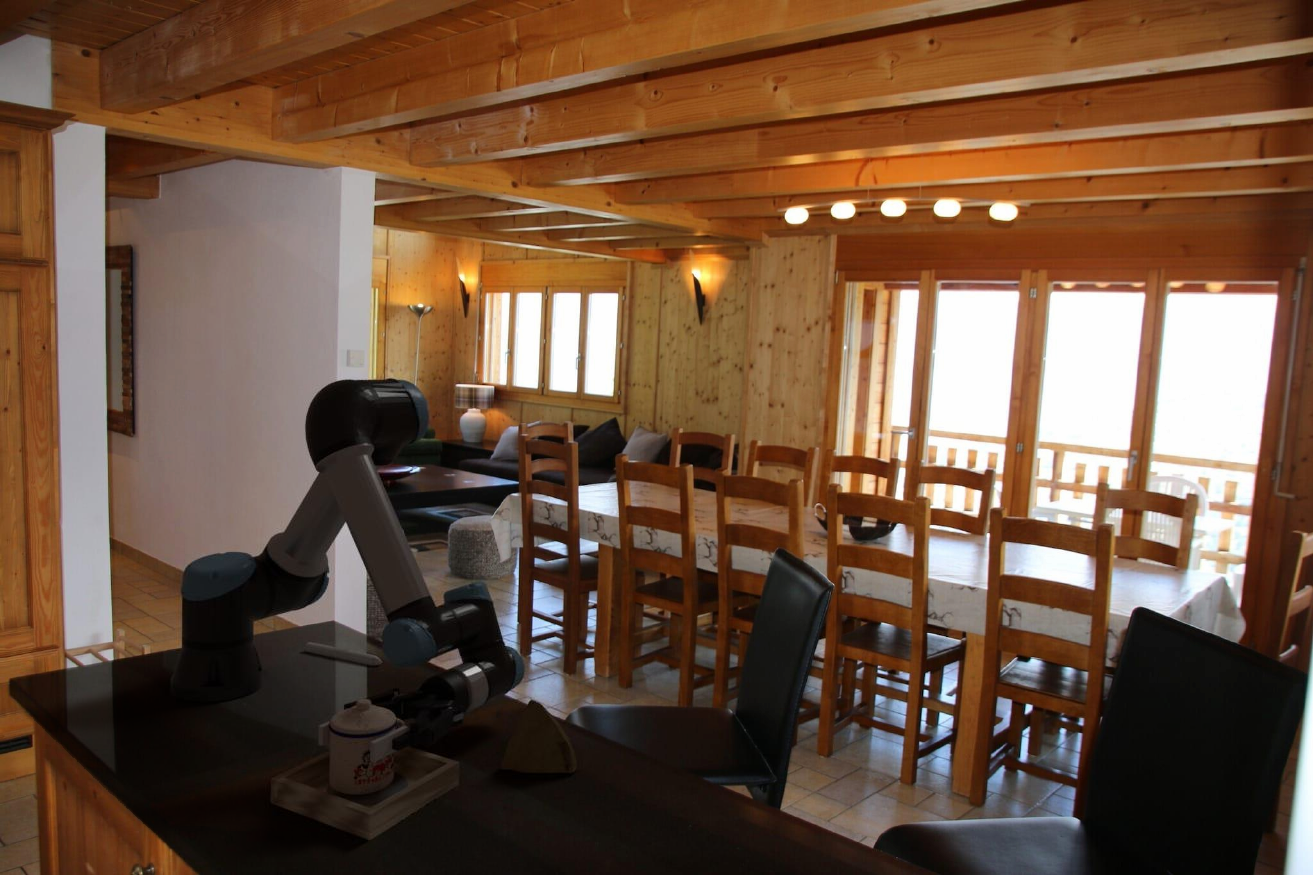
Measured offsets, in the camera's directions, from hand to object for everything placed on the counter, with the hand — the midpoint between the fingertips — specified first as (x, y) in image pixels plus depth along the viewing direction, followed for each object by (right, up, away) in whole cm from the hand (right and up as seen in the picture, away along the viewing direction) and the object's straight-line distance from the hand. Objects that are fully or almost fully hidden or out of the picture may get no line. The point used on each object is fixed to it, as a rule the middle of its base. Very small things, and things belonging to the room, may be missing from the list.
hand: (346, 743), depth 128 cm
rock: (+25, -9, +16) cm, 31 cm away
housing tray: (+1, -9, +5) cm, 10 cm away
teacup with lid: (+2, -7, +5) cm, 8 cm away
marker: (-20, -3, +58) cm, 62 cm away
